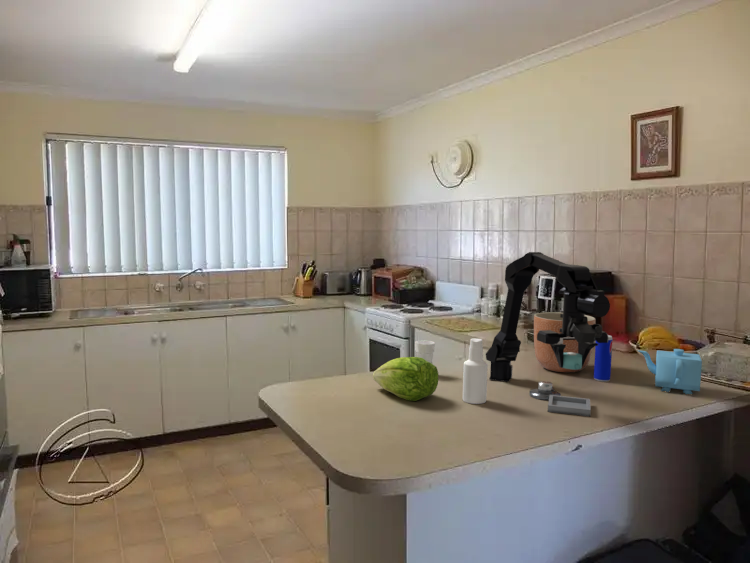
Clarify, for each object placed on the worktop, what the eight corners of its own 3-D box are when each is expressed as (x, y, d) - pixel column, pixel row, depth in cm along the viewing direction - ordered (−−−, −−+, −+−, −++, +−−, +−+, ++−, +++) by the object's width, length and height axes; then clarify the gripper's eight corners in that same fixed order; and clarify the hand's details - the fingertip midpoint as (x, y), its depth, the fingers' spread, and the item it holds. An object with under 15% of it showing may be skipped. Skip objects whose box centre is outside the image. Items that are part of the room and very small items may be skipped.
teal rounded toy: (556, 364, 165) (557, 351, 165) (574, 364, 166) (575, 350, 166) (568, 370, 159) (569, 356, 158) (587, 370, 160) (588, 356, 160)
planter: (568, 360, 223) (570, 311, 222) (605, 374, 204) (608, 320, 202) (520, 364, 217) (522, 313, 215) (554, 378, 197) (557, 322, 195)
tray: (547, 411, 161) (547, 405, 161) (549, 400, 171) (549, 394, 171) (590, 416, 157) (590, 410, 157) (589, 405, 168) (589, 398, 167)
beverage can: (611, 382, 193) (614, 337, 191) (594, 381, 194) (597, 336, 192) (608, 378, 198) (611, 334, 196) (592, 377, 199) (594, 333, 197)
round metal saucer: (528, 398, 173) (528, 385, 173) (530, 390, 182) (531, 377, 181) (560, 401, 170) (560, 388, 170) (560, 393, 179) (561, 380, 178)
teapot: (696, 386, 190) (699, 347, 189) (700, 398, 176) (703, 356, 175) (635, 379, 198) (637, 341, 196) (634, 390, 184) (637, 350, 182)
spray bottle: (487, 398, 172) (490, 338, 170) (484, 405, 165) (486, 342, 164) (464, 396, 174) (466, 336, 172) (460, 402, 168) (462, 340, 166)
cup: (411, 375, 197) (412, 343, 196) (417, 371, 203) (418, 339, 202) (430, 377, 195) (431, 345, 194) (436, 373, 201) (437, 341, 200)
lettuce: (393, 364, 188) (367, 346, 180) (450, 368, 173) (425, 349, 165) (381, 403, 183) (354, 386, 175) (439, 410, 168) (412, 392, 160)
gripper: (557, 316, 152) (554, 375, 153) (621, 315, 156) (618, 373, 157) (537, 310, 163) (534, 365, 164) (598, 309, 166) (595, 363, 168)
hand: (570, 367), depth 163 cm, fingers closed on teal rounded toy, 6 cm apart
